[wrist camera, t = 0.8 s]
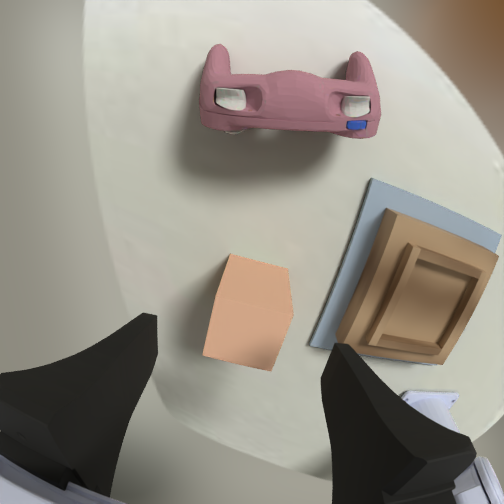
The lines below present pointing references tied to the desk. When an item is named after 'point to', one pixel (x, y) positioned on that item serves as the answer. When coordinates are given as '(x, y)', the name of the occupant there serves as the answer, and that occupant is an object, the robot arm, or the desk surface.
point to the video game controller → (289, 99)
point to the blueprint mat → (363, 240)
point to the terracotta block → (250, 314)
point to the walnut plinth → (415, 291)
